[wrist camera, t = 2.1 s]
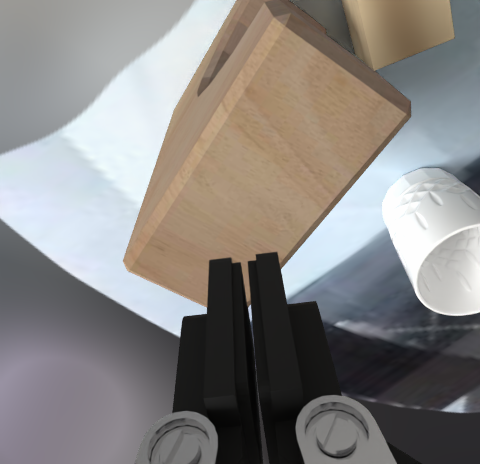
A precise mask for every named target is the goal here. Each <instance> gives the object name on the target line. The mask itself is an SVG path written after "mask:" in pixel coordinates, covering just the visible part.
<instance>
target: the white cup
mask: <svg viewBox="0 0 480 464" xmlns="http://www.w3.org/2000/svg"><path fill="white" fill-rule="evenodd" d="M382 209H383V219H384V222H385V224H386V226H387V228H388V230H389V232H390V236H391V239H392V242H393V244H394V246H395V248H396V251H397V253H398V256H399V258H400V260H401V262H402V264H403V266H404V269H405V271H406V273H407V275H408V277H409V279H410V281H411V284H412V286H413V288H414V290H415V292H416V295H417V297H418V298H419V300H420V301H421V302H422V303H423V304H424V305H425V306H426V307H428V308H429V309H431V310H433V311H435V312H438V313H441V314H445V315H453V316H461V315H470V314H475V313H479V312H480V196H479V195H478V194H476V193H475V192H474V191H473V190H472V189H470V188H469V187H468V186H466V185H465V184H463V183H462V182H461V181H459V180H458V179H457V178H456V177H455V176H454V175H452V174H450V173H448V172H446V171H444V170H442V169H440V168H420V169H417V170H415V171H412V172H410V173H408V174H405V175H403V176H402V177H400V178H399V179H398V180H397V181H396V182H395V183H394V184H393V185H392V186H391V187H390V188H389V189H388V192H387V194H386V196H385V198H384V201H383V203H382Z"/></svg>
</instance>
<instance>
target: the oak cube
mask: <svg viewBox="0 0 480 464" xmlns="http://www.w3.org/2000/svg"><path fill="white" fill-rule="evenodd" d="M341 1H342V5H343V9H344V12H345V16H346V20H347V24H348V28H349V32H350V36H351V40H352V44H353V48H354V52H355V55H356V56H357V57H358V58H359V59H361V60H362V61H363V62H364V63H365V64H367V65H368V66H369V67H370V68H371V69H373V70H374V71H375V70H377V69H380V68H382V67H385V66H387V65H390V64H392V63H395V62H397V61H400V60H402V59H405V58H407V57H410V56H412V55H415V54H417V53H420V52H422V51H425V50H427V49H429V48H432V47H434V46H437V45H439V44H442V43H444V42H447V41H449V40H452V39H454V38H455V36H454V29H453V21H452V14H451V7H450V0H341Z"/></svg>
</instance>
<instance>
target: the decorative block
mask: <svg viewBox="0 0 480 464" xmlns="http://www.w3.org/2000/svg"><path fill="white" fill-rule="evenodd" d="M410 117H411V101H410V100H408V99H407V98H406V97H405V96H404V95H403V94H401V93H400V92H399V91H398V90H397V89H396V88H394V87H393V86H392V85H391V84H390V83H388V82H387V81H386V80H385V79H384V78H383V77H381V76H380V75H379V74H378V73H377V72H376V71H374V70H373V69H371V68H370V67H369V66H367V65H366V64H365V63H363V62H362V61H361V60H359V59H358V58H357V57H355V56H354V55H353V54H351V53H350V52H349V51H347V50H346V49H345V48H343V47H342V46H340V45H339V44H338V43H336V42H335V41H334V40H332V39H331V38H330V37H328V36H327V35H326V29H325V28H324V27H323V26H322V25H320V24H319V23H318V22H317V21H316V20H314V19H313V18H312V17H310V16H309V15H308V14H306V13H305V12H304V11H302V10H301V9H300V8H298V7H297V6H296V5H294V4H293V3H292V2H290V1H289V0H236V2H235V4H234V6H233V8H232V9H231V11H230V13H229V15H228V16H227V18H226V20H225V22H224V23H223V25H222V27H221V29H220V30H219V32H218V34H217V36H216V37H215V39H214V41H213V43H212V44H211V46H210V48H209V50H208V51H207V53H206V55H205V57H204V58H203V60H202V62H201V64H200V65H199V67H198V69H197V71H196V72H195V74H194V76H193V78H192V79H191V81H190V83H189V85H188V86H187V88H186V90H185V92H184V93H183V95H182V97H181V99H180V100H179V102H178V104H177V106H176V108H175V109H174V112H173V115H172V118H171V121H170V123H169V126H168V129H167V132H166V135H165V138H164V141H163V144H162V147H161V150H160V153H159V156H158V159H157V162H156V165H155V168H154V171H153V174H152V176H151V179H150V182H149V185H148V188H147V191H146V194H145V197H144V200H143V203H142V206H141V209H140V212H139V215H138V218H137V221H136V224H135V227H134V229H133V232H132V235H131V238H130V241H129V244H128V247H127V250H126V253H125V256H124V259H123V262H124V264H125V267H126V269H127V271H129V272H131V273H133V274H135V275H138V276H140V277H142V278H144V279H146V280H148V281H151V282H153V283H155V284H157V285H159V286H161V287H164V288H166V289H168V290H170V291H172V292H174V293H177V294H179V295H181V296H183V297H185V298H187V299H190V300H192V301H194V302H196V303H198V304H200V305H203V306H205V307H207V299H208V275H209V260H212V259H221V258H229V257H231V258H232V262H233V263H236V262H241V266H242V273H243V279H244V286H245V292H246V299H247V305H248V307H249V306H250V305H251V298H250V286H249V273H248V261H253V260H256V254H262V253H270V252H278V258H279V263H280V268H281V269H282V267H283V266H284V265H285V264H286V263H287V262H288V260H289V259H290V258H291V257H292V256H293V255H294V253H295V252H296V251H297V250H298V249H299V248H300V246H301V245H302V244H303V243H304V242H305V241H306V239H307V238H308V237H309V236H310V235H311V234H312V232H313V231H314V230H315V229H316V228H317V227H318V225H319V224H320V223H321V222H322V221H323V220H324V218H325V217H326V216H327V215H328V214H329V213H330V211H331V210H332V209H333V208H334V207H335V205H336V204H337V203H338V202H339V201H340V200H341V198H342V197H343V196H344V195H345V194H346V193H347V191H348V190H349V189H350V188H351V187H352V185H353V184H354V183H355V182H356V181H357V180H358V178H359V177H360V176H361V175H362V174H363V173H364V171H365V170H366V169H367V168H368V167H369V165H370V164H371V163H372V162H373V161H374V160H375V158H376V157H377V156H378V155H379V154H380V153H381V151H382V150H383V149H384V148H385V147H386V145H387V144H388V143H389V142H390V141H391V140H392V138H393V137H394V136H395V135H396V134H397V133H398V131H399V130H400V129H401V128H402V127H403V125H404V124H405V123H406V122H407V121H408V120H409V118H410Z"/></svg>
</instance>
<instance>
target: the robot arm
mask: <svg viewBox="0 0 480 464" xmlns="http://www.w3.org/2000/svg"><path fill="white" fill-rule="evenodd" d="M248 273H249V286H250V298H251V310H252V322H253V335H254V346H253V338H252V332H251V325H250V319H249V312H248V305H247V299H246V292H245V286H244V279H243V273H242V266H241V262H236V263H233V262H232V258H231V257H229V258H221V259H212V260H209V275H208V299H207V314H202V315H193V316H185V317H184V318H183V320H182V327H181V337H180V347H179V356H178V365H177V374H176V384H175V394H174V403H173V412H172V414H170V415H167V416H165V417H163V418H162V419H160V420H159V421H157V422H156V423H155V424H153V426H152V427H151V428H150V429H149V430H148V432H147V433H146V434H145V436H144V438H143V441H142V443H141V445H140V448H139V451H138V454H137V457H136V460H135V464H263V456H262V444H261V431H260V418H259V406H258V393H257V383H258V392H259V399H260V406H261V412H262V419H263V425H264V431H265V438H266V444H267V450H268V456H269V463H270V464H421V463H420V462H418V461H416V460H415V459H413V458H411V457H410V456H409V455H407V454H405V453H404V452H402V451H401V450H399V449H397V448H396V447H394V446H393V445H391V444H389V443H388V442H386V441H385V439H384V437H383V435H382V433H381V431H380V429H379V428H378V425H377V423H376V422H375V419H374V418H373V417H372V415H371V414H370V412H369V411H368V410H367V409H366V408H365V407H363V406H362V405H361V404H360V403H358V402H357V401H355V400H353V399H350V398H348V397H345V396H342V395H341V391H340V387H339V383H338V380H337V376H336V372H335V368H334V365H333V361H332V357H331V353H330V350H329V346H328V342H327V338H326V335H325V331H324V327H323V323H322V320H321V316H320V312H319V309H318V305H317V303H316V301H313V302H304V303H296V304H287V301H286V296H285V290H284V285H283V279H282V274H281V268H280V263H279V258H278V252H270V253H262V254H256V260H253V261H248ZM254 347H255V356H254ZM255 359H256V368H255ZM256 371H257V382H256Z"/></svg>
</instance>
